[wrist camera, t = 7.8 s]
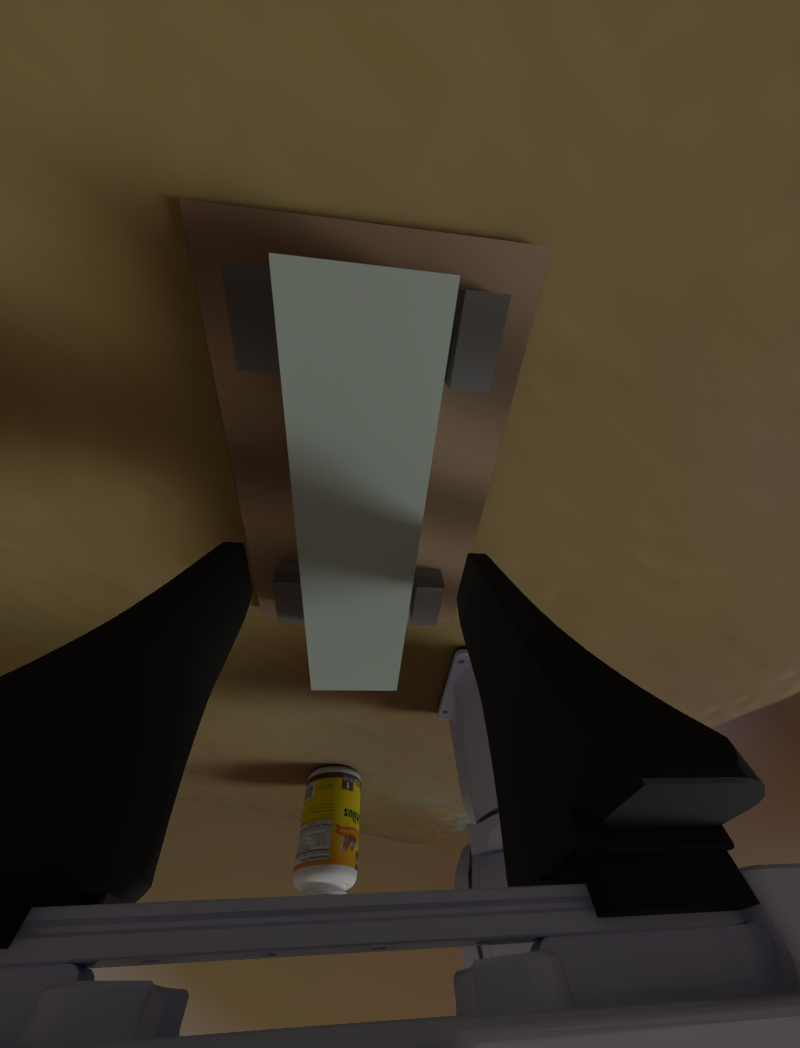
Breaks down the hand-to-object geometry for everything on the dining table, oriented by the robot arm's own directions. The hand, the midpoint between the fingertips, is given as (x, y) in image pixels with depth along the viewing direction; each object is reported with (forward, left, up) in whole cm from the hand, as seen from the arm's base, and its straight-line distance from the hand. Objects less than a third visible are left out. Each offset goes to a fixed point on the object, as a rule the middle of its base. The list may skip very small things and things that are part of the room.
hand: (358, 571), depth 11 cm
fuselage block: (0, 0, -6) cm, 6 cm away
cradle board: (0, 0, -7) cm, 7 cm away
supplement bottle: (-35, +2, -7) cm, 36 cm away
